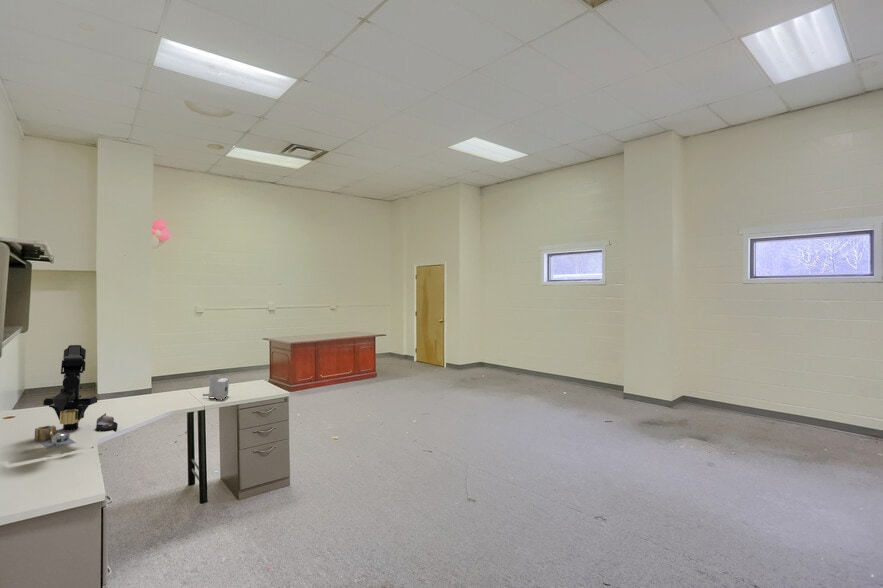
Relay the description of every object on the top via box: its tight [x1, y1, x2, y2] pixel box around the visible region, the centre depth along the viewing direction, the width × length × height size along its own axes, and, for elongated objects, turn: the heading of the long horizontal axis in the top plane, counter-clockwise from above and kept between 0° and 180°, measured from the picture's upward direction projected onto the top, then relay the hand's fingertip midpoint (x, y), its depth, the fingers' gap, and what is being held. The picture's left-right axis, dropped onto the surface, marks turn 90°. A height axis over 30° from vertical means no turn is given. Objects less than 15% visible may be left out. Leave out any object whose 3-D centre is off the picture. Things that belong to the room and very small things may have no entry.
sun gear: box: [50, 431, 71, 442], centre depth 198 cm, size 6×6×2 cm
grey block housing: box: [202, 374, 230, 400], centre depth 294 cm, size 12×14×15 cm
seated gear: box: [34, 425, 57, 442], centre depth 198 cm, size 7×7×5 cm
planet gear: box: [59, 409, 81, 425], centre depth 196 cm, size 7×7×5 cm
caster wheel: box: [95, 412, 118, 432], centre depth 217 cm, size 7×11×10 cm
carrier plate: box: [37, 436, 77, 449], centre depth 196 cm, size 18×10×5 cm, turn 55°
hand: (69, 420), depth 196 cm, fingers closed on planet gear, 7 cm apart
